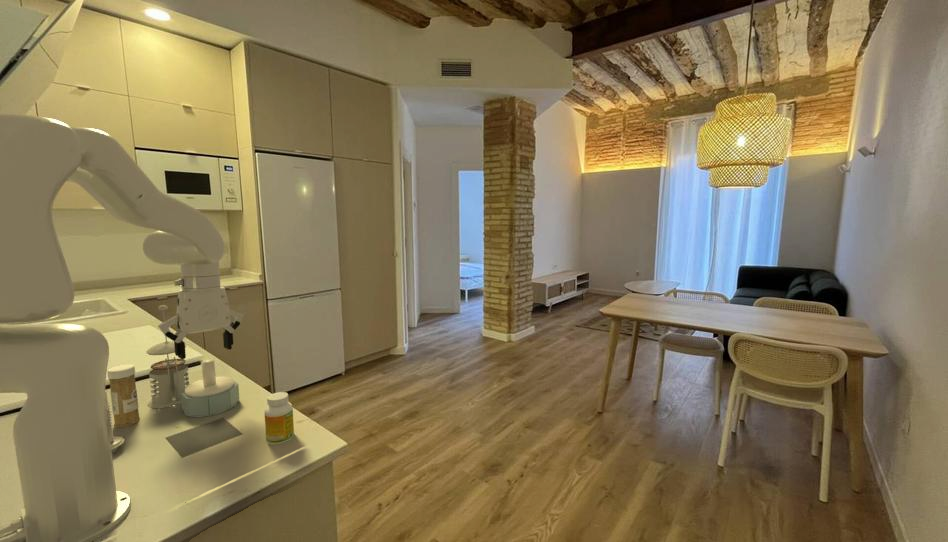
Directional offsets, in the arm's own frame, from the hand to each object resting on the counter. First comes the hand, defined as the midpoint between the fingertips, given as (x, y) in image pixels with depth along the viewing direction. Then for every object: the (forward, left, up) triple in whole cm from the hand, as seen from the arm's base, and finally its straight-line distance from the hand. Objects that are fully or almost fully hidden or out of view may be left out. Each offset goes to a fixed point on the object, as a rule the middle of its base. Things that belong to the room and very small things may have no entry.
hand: (205, 353), depth 95 cm
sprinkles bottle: (-14, +7, -15) cm, 22 cm away
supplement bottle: (+5, -26, -15) cm, 31 cm away
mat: (-5, -13, -14) cm, 20 cm away
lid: (+1, +1, -9) cm, 9 cm away
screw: (-19, -5, -15) cm, 25 cm away
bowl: (+1, +1, -14) cm, 14 cm away
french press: (-4, +13, -15) cm, 20 cm away
